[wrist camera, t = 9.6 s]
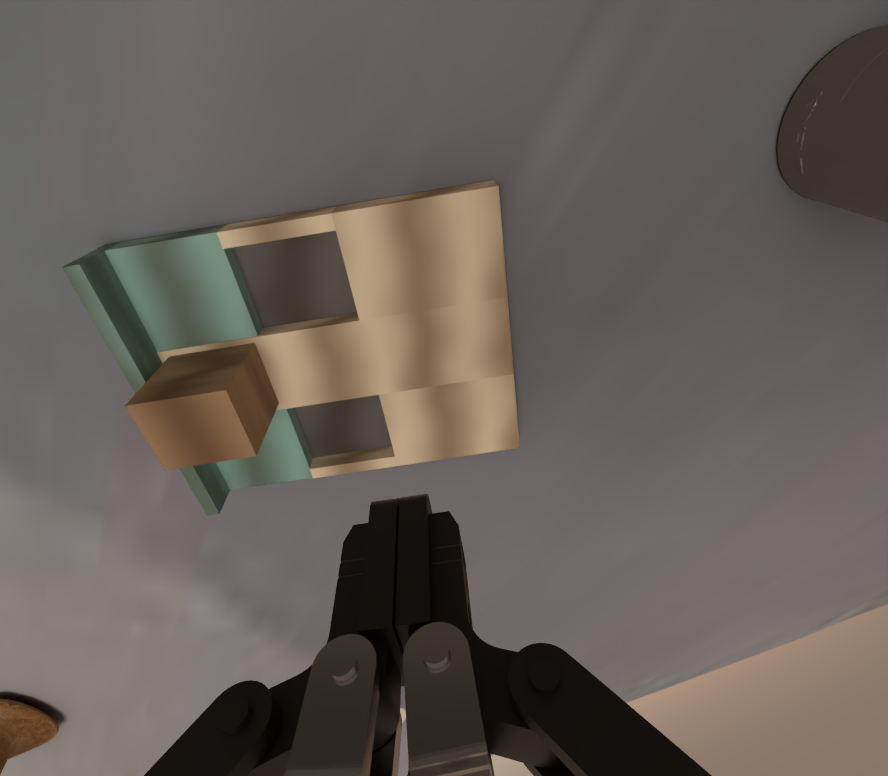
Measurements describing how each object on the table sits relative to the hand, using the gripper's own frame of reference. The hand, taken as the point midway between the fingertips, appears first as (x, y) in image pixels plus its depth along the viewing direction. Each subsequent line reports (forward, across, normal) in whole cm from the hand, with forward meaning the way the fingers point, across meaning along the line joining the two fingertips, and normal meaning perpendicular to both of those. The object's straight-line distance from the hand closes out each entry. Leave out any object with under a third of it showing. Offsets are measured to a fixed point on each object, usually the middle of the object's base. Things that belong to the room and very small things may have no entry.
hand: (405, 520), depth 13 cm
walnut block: (+21, +14, +6) cm, 26 cm away
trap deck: (+23, +7, +6) cm, 25 cm away
